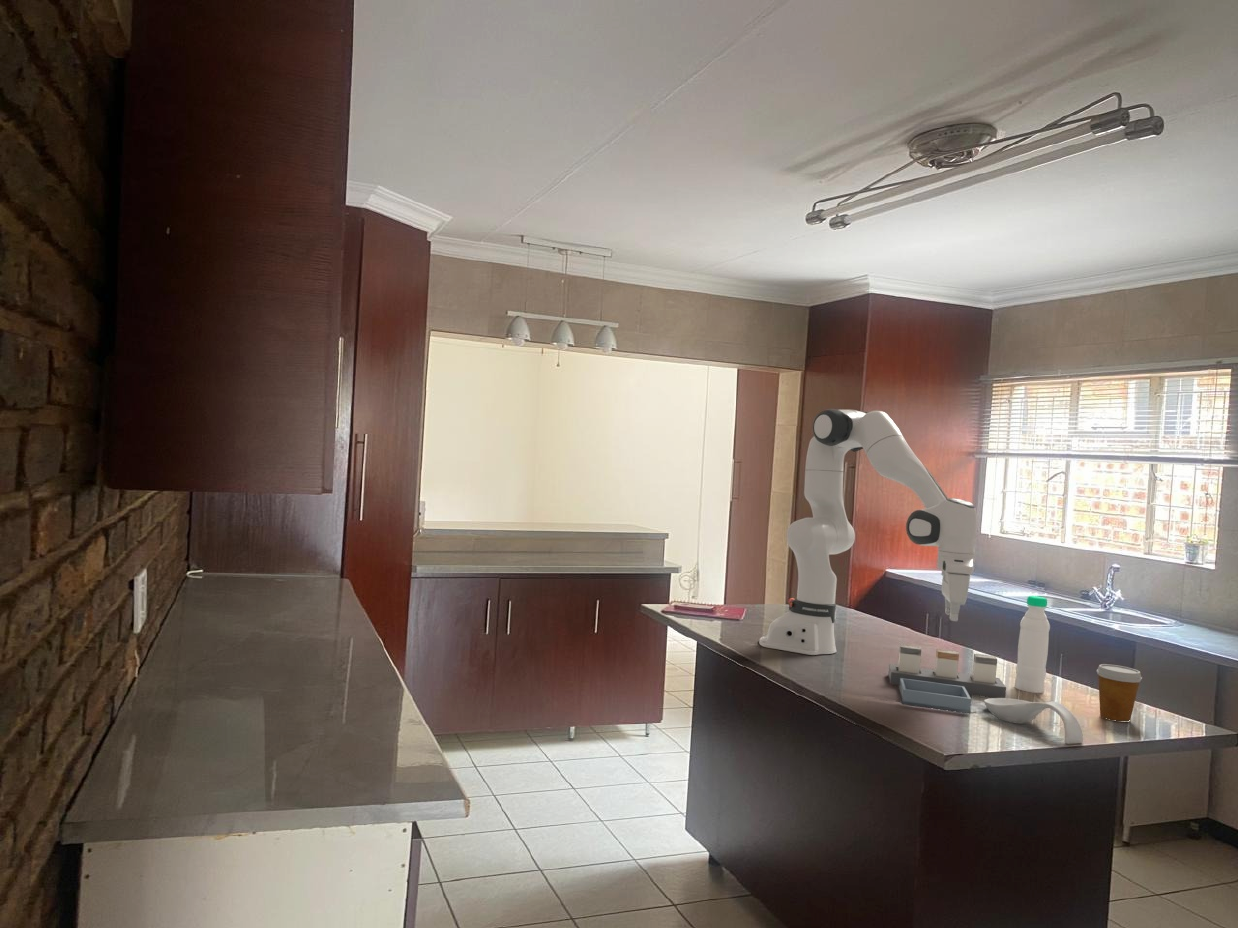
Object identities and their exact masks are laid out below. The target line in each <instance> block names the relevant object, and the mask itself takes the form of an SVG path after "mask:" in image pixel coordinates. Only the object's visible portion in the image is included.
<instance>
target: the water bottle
mask: <svg viewBox="0 0 1238 928" xmlns="http://www.w3.org/2000/svg"><path fill="white" fill-rule="evenodd" d="M1026 606H1027V607H1028V609H1027V610H1026V612H1025V613H1024V616H1022V619H1021V620H1020V623H1019V626H1020V630H1019V635H1018V645H1017V663H1016V669H1015V680H1014V688H1015V689H1017V690H1020V691H1023V692H1027V693H1028V692H1029V693H1035V694H1036V693H1037V694H1042V693H1043V694H1044V693H1045V687H1046V686H1045V681H1046V675H1047V670H1046V667H1047V661H1048V653H1049V637H1050V636H1049V635H1050V633H1049V632H1050V630H1051V624H1050V622H1049V620H1048V616H1047V615H1046V613H1045V610H1046V609H1047V606H1048V599H1047V598H1046V597H1043V596H1037V595H1029V596H1027V599H1026Z"/></svg>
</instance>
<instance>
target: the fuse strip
mask: <svg viewBox="0 0 1238 928" xmlns="http://www.w3.org/2000/svg"><path fill="white" fill-rule="evenodd" d="M934 674H935V668H933V669H931V668H925V667H920V672H919V673H911V672H904V671H898V664H894V663H889V664H888V680H889V684H890V685H894V686H900V678H904V679H912V680H919V681H927V682H934V683H942V684H949V685H956V686H964V687H965V689H966V691H967V692H968V694H969V696H975V697H982V698H983V697H984V698H987V699H990V698H1006V693H1007V687H1006V685H1005V684H1004V683H1003V681H1002V680H1001V678H1000V677H996V681H995V683H987V682H980V681H972V674H971V673H970V674H969V673H963V672H957V678H949V677H942V676H934Z"/></svg>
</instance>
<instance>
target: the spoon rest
mask: <svg viewBox="0 0 1238 928" xmlns="http://www.w3.org/2000/svg"><path fill="white" fill-rule="evenodd" d="M983 703H984V705H985V708H987V710H988V711H989V712H990V713H991V714H992V715H994V716H995V717H997V718H998V719H999V718H1000V720H1002V721H1004V720H1005V722H1008V721H1009V722H1008V723H1012V722H1013V723H1014V724H1026V723H1028V722H1030V721H1032V720H1034V719H1036V717H1037V716H1039V715H1040V714H1041V713H1042V712H1043V711H1044V710H1046V709H1050V710H1053V712H1055V713H1056V714H1057V715H1058V717H1060V718H1061V720H1062V723H1063V726H1064V743H1065V744H1066V745H1071V744H1073V745H1074V744H1082V743H1083V742H1084V737H1083V730H1082V727H1081V724H1080V723H1079V721H1078V719H1077V718H1076V716H1075V714H1074V713H1072V711H1071V710H1070V709H1069V708H1067V707H1066V706H1065V705H1064V704H1061V703H1060V702H1058V701H1051V700H1050V701H1046V702H1043V701H1042V702H1037V701H1036V702H1034V701H1033V702H1032V701H1029V700H1023V699H1018V698H1017V699H1016V698H1010V697H1009V698H1007V697H1005V698H986V699H984V700H983Z"/></svg>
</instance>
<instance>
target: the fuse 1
mask: <svg viewBox="0 0 1238 928" xmlns="http://www.w3.org/2000/svg"><path fill="white" fill-rule="evenodd" d="M921 658H922V647H921V646H916V645H907V644H899V650H898V663H897V665H898V671H904V672H911V673H919V672H920V668H921Z"/></svg>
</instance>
